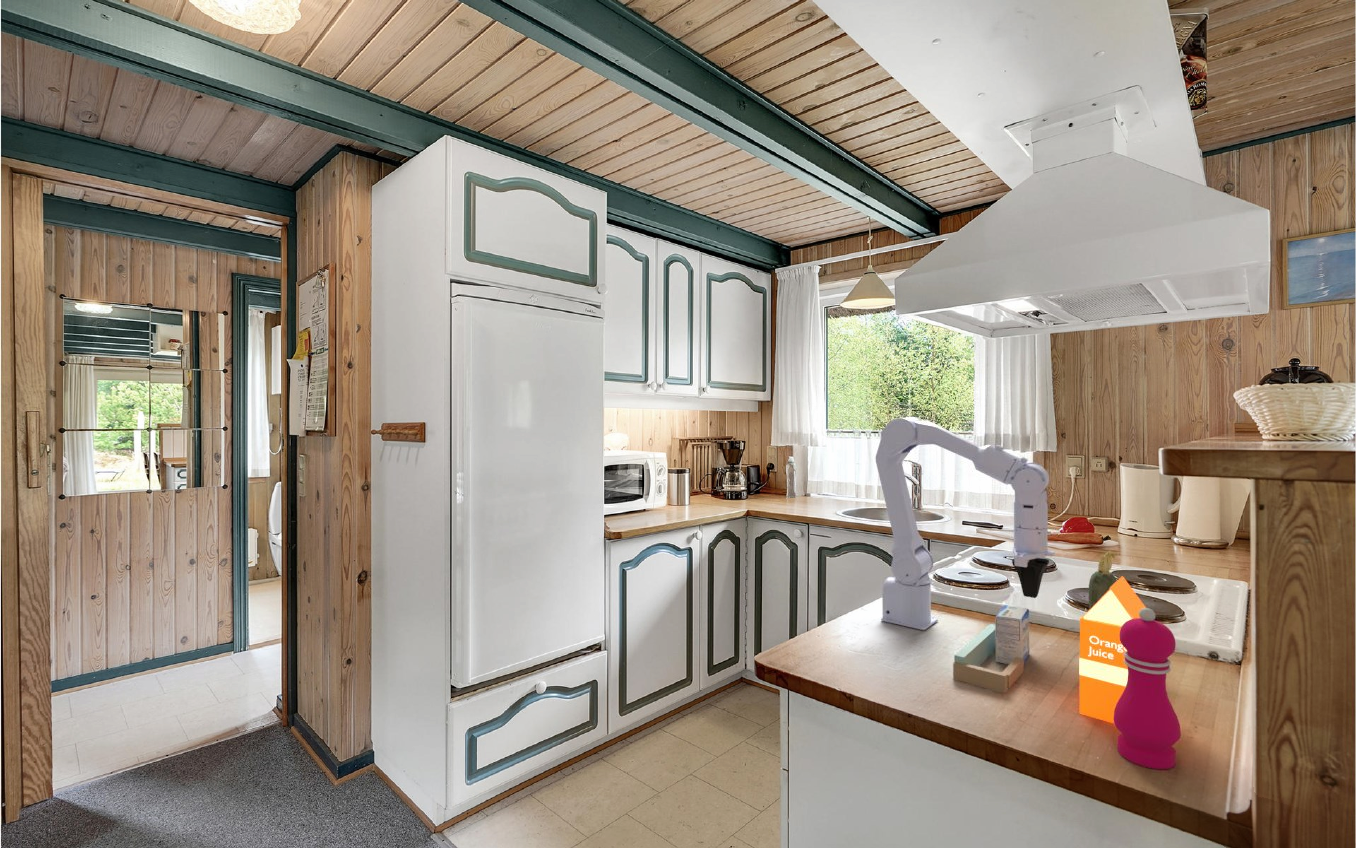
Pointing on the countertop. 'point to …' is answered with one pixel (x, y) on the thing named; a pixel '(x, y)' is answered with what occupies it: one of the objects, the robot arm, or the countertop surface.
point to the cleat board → (977, 654)
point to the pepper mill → (1147, 694)
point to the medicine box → (1012, 634)
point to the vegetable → (1101, 579)
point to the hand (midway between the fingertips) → (1030, 596)
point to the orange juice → (1105, 651)
